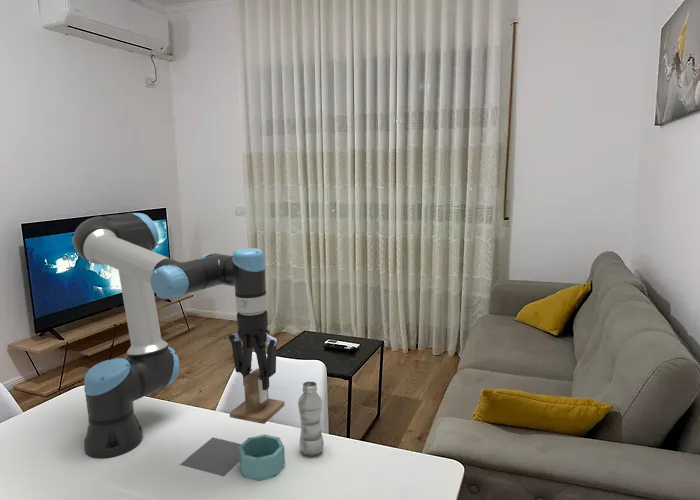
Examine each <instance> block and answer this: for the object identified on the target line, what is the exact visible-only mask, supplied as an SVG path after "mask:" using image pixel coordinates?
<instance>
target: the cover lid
mask: <svg viewBox="0 0 700 500" xmlns="http://www.w3.org/2000/svg"><path fill="white" fill-rule="evenodd" d="M259 377H261V376H260V371H259V368H256V369H254V370H252V371H251V372H250V374H248V375H247V376H246V377H244V385H243V387H244V388H243V389H244V399H245V400H244V401H243V402H242V403H240V404H239V405H238V406H237V407H235V408H234V409H233V410H231V411H230V412H229V418H232V419H235V420H242V421H245V422H246V421H247V422H252V423H256V424H257V423H258V424H260V425H261V424H263V425H265V424H266V423H267V422H268V421H270V419H271V418H273V417H274V415H276V414H277V413H278V412H279V411H281V409H283V408H284V406H285V401H284V400H279V399H273V398H269V388H268V389H267V398H268V399H267V400H265V401H264V402H263V403H259V389H258V378H259Z"/></svg>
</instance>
